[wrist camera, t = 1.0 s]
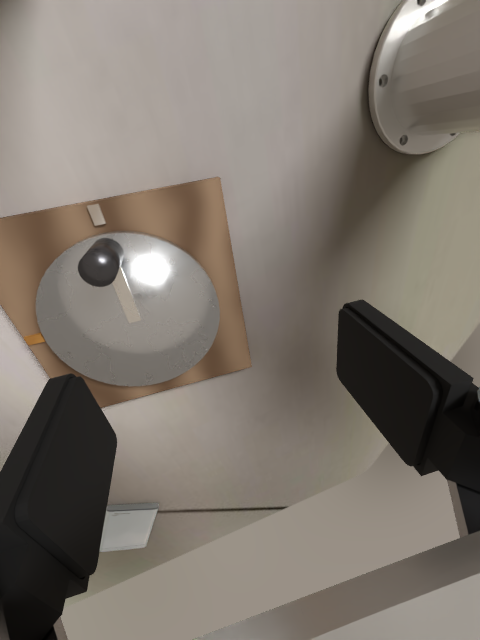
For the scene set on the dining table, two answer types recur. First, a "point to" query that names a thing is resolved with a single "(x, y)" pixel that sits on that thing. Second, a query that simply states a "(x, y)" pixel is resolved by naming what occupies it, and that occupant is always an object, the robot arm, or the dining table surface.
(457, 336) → the dining table surface
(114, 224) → the dial base
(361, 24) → the dining table surface
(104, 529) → the hard drive
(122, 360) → the dial
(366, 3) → the dining table surface
